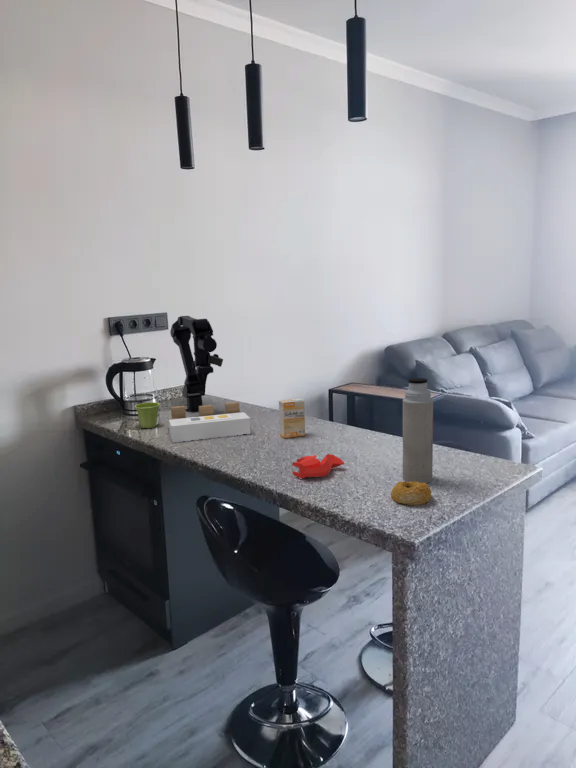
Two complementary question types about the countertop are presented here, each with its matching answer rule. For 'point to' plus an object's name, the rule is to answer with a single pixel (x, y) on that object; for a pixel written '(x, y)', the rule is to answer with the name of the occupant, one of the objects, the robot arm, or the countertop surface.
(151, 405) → the plant pot
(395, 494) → the bagel
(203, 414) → the key middle
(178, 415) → the key
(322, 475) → the animal figurine
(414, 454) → the thermos bottle
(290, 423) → the supplement box
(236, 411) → the key
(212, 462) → the countertop surface
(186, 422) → the key console
